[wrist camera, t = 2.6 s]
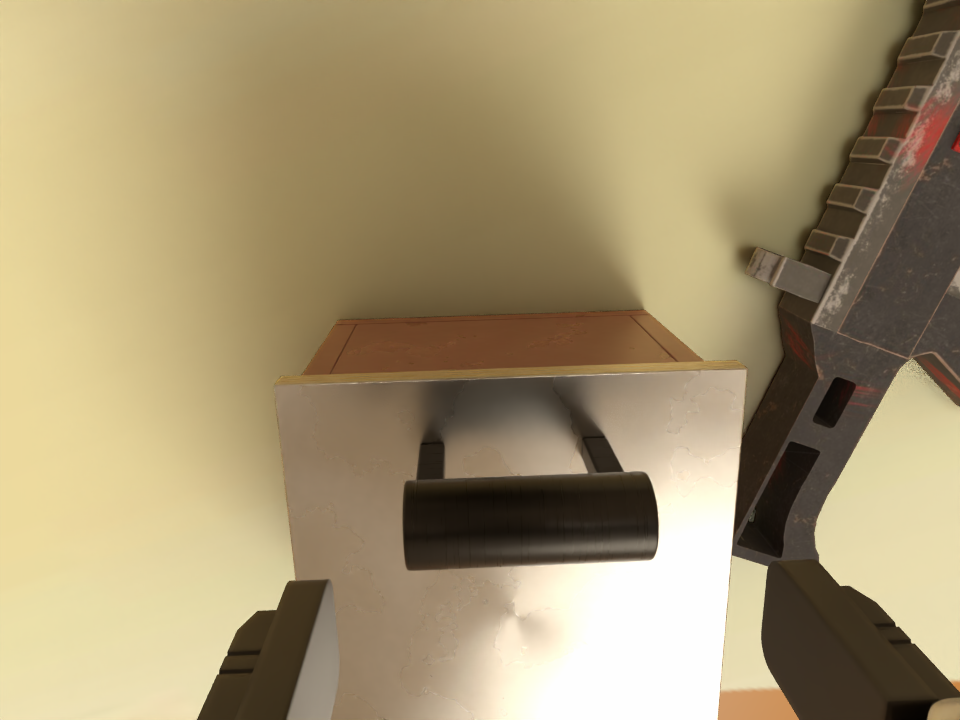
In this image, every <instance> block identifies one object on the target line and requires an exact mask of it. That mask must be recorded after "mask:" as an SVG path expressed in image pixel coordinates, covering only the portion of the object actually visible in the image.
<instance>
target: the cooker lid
mask: <svg viewBox="0 0 960 720" xmlns="http://www.w3.org/2000/svg"><path fill="white" fill-rule="evenodd" d="M747 371H748V369H747V367H745V366H744V365H743V364H741V363H740V362H739V361H737V360H726V361H697V362H669V363H640V364H612V365H583V366H554V367H526V368H497V369H469V370H440V371H412V372H383V373H354V374H326V375H297V376H280V377H279V379H278V380H277V381H276V383H275V384H274V394H275V402H276V411H277V420H278V429H279V438H280V446H281V455H282V464H283V473H284V481H285V490H286V499H287V508H288V517H289V525H290V534H291V543H292V552H293V560H294V569H295V578H296V581H299V580H322V579H330V580H331V583H332V587H333V595H334V605H335V615H336V625H337V635H338V646H339V680H338V688H337V693H336V697H335V702H334V706H333V711H332V716H331V720H718V710H719V698H720V687H721V675H722V663H723V652H724V640H725V628H726V617H727V605H728V593H729V582H730V570H731V558H732V547H733V535H734V523H735V511H736V500H737V488H738V476H739V465H740V453H741V441H742V430H743V418H744V406H745V395H746V383H747Z"/></svg>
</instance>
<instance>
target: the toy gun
mask: <svg viewBox="0 0 960 720" xmlns="http://www.w3.org/2000/svg"><path fill="white" fill-rule="evenodd" d="M897 60H898V66H897V68H896V70H895V72H894V74H893V76H892V78H891V80H890V82H889V84H888V86H887V88H884V89H882V91H881V93H880V95H879V97H878V99H877V101H876V103H875V105H874V107H873V117H872V119H871V121H870V123H869V125H868V127H867V129H866V131H865V133H864V135H863V136H860V137H858V139H857V141H856V143H855V145H854V147H853V149H852V151H851V153H850V155H849V157H850V163H849V165H848V167H847V169H846V171H845V173H844V175H843V177H842V179H841V181H840V183H836V184H835V186H834V188H833V190H832V192H831V194H830V196H829V198H828V200H827V205H828V206H827V209H826V211H825V213H824V215H823V217H822V219H821V221H820V223H819V225H818V227H817V229H813V230H812V232H811V234H810V236H809V238H808V240H807V242H806V244H805V246H804V248H805V250H806V251H805V253H804V255H803V257H802V259H801V261H800V262H799V261H796V260H794V259H790V258H787V257H785V256H781V255H778V254H775V253H773V252H770V251H768V250H765V249H762V248H760V247H757V248H756V250H755V252H754V254H753V256H752V258H751V260H750V262H749V264H748V266H747V269H746V271H745V274H748V275H750V276H752V277H755V278H757V279H760V280H762V281H765V282H767V283H769V285H771V286H774V287H776V288H779V289H782V290H784V291H786V292H785V294H784V296H783V298H782V300H781V302H780V304H779V305H778V311H779V316H780V321H781V331H782V342H783V347H784V350H785V354H786V356H785V358H784V360H783V362H782V364H781V366H780V368H779V370H778V372H777V374H776V376H775V378H774V380H773V382H772V384H771V386H770V388H769V390H768V392H767V394H766V395H765V397H764V399H763V401H762V403H761V405H760V407H759V409H758V411H757V413H756V415H755V417H754V419H753V421H752V423H751V425H750V427H749V429H748V431H747V433H746V435H745V437H744V439H743V441H742V443H741V453H740V465H739V476H738V488H737V500H736V511H735V523H734V535H733V547H732V555H733V556H737V557H740V558H743V559H746V560H749V561H753V562H756V563H759V564H762V565H766V566H769V565H770V563H771V562H772V561H782V560H805V559H814V560H816V561H818V562H819V555H818V552H817V550H816V548H815V536H814V532H815V526H816V521H817V518H818V515H819V513H820V511H821V509H822V506H823V504H824V502H825V500H826V498H827V496H828V494H829V492H830V491H831V489H832V488H833V486H834V485H835V483H836V481H837V479H838V478H839V476H840V474H841V472H842V470H843V469H844V467H845V465H846V463H847V461H848V460H849V458H850V456H851V454H852V452H853V451H854V449H855V447H856V445H857V443H858V442H859V440H860V438H861V436H862V434H863V433H864V431H865V429H866V427H867V425H868V424H869V422H870V420H871V418H872V416H873V415H874V413H875V411H876V409H877V407H878V406H879V404H880V402H881V400H882V398H883V397H884V395H885V393H886V391H887V389H888V388H889V386H890V384H891V382H892V380H893V379H894V377H895V376H896V374H897V372H898V371H899V369H900V368H901V367H902V366H903V365H904V364H905V363H906V362H908V361H909V360H910V359H911V358H914V359H915V360H916V361H917V362H918V363H919V364H920V366H921V367H922V368H923V369H924V370H925V371H926V372H927V373H928V374H929V375H930V376H931V378H932V379H933V380H934V381H935V382H936V383H937V384H938V385H939V386H940V387H941V388H942V390H943V391H944V392H945V393H946V394H947V395H948V396H949V397H950V398H951V399H952V400H953V401H954V403H955V404H956V405H958V406H960V0H926V2H925V4H924V6H923V16H922V18H921V20H920V22H919V24H918V26H917V28H916V30H915V32H914V34H913V36H912V37H909V38H908V39H907V40H906V42H905V45H904V47H903V49H902V51H901V53H900V55H899V57H898V59H897ZM755 506H756V516H755V522H754V523H749V522H748V520H749V518H750V516H751V514H752V512H753V510H754V508H755Z"/></svg>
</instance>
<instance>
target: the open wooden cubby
mask: <svg viewBox="0 0 960 720" xmlns="http://www.w3.org/2000/svg"><path fill="white" fill-rule="evenodd" d="M697 361H704V360H702V359H701V358H700V357H699V356H698V355H697V354H696V353H694V352H693V351H692V350H691V349H690V348H689V347H687V346H686V345H685V344H684V343H683V342H682V341H680V340H679V339H678V338H677V337H676V336H675V335H674V334H672V333H671V332H670V331H669V330H668V329H667V328H665V327H664V326H663V325H662V324H661V323H660V322H658V321H657V320H656V319H655V318H654V317H653V316H652V315H650V314H649V313H648V312H647V311H646V310H629V311H599V312H568V313H538V314H508V315H477V316H447V317H417V318H386V319H356V320H338V321H337V322H336V324H335V326H334V327H333V328H332V330H331V331H330V333H329V334H328V336H327V337H326V339H325V341H324V342H323V344H322V345H321V347H320V348H319V350H318V351H317V353H316V354H315V356H314V357H313V359H312V360H311V362H310V363H309V365H308V367H307V368H306V370H305V371H304V373H303V374H302V375H326V374H354V373H383V372H412V371H440V370H469V369H497V368H526V367H554V366H583V365H612V364H640V363H669V362H697Z"/></svg>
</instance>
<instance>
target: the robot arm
mask: <svg viewBox="0 0 960 720" xmlns="http://www.w3.org/2000/svg"><path fill="white" fill-rule="evenodd" d="M761 640H762V648H763V653H764V657H765V660H766V663H767V666H768V668H769V670H770V672H771V673H772V675H773V677H774V678H775V680H776V682H777V683H778V685H779V687H780V688H781V690H782V692H783V693H784V695H785V696H786V698H787V700H788V701H789V703H790V705H791V706H792V708H793V710H794V712H795V713H796V715H797V717H798V718H799V720H960V692H959V691H958V690H957V689H956V688H955V687H954V686H953V684H952V683H951V682H950V681H949V680H948V679H947V678H946V677H945V676H944V675H943V674H942V673H941V672H940V670H939V669H938V668H937V667H936V666H935V665H934V664H933V663H932V662H931V661H930V660H929V659H928V658H927V656H926V655H925V654H924V653H923V652H922V651H921V650H920V649H919V648H918V647H917V646H916V645H915V644H912V643H911V639H910V638H909V637H908V636H907V635H906V634H905V633H904V632H903V631H902V630H901V629H900V627H896V625H895V622H894V621H893V620H892V619H891V618H890V617H889V616H888V615H887V613H886V612H885V611H884V610H883V609H882V608H881V607H880V606H879V605H878V604H877V603H876V602H875V601H873V600H871V599H870V598H868V597H866V596H865V595H863V594H862V593H860V592H858V591H857V590H855V589H853V588H852V587H850V586H839V584H838V583H837V582H836V581H835V580H834V579H833V578H832V576H831V575H830V574H829V573H828V572H827V571H826V570H825V569H824V567H823V566H822V565H821V564H820V563H819V562H818V561H816V560H814V559H805V560H782V561H772V562H771V563H770V565H769V567H768V570H767V579H766V589H765V600H764V610H763V620H762V631H761ZM338 680H339V646H338V635H337V625H336V615H335V605H334V595H333V587H332V583H331V580H330V579H322V580H299V581H289V582H288V583H287V585H286V587H285V590H284V592H283V595H282V597H281V600H280V603H279V605H278V608H277V610H269V611H257V612H256V613H255V614H254V615H253V616H252V617H251V618H250V619H249V620H248V621H247V622H246V623H245V624H243V625H242V626H241V627H240V628H239V629H238V630H237V632H236V634H235V637H234V639H233V641H232V643H231V645H230V648H229V650H228V655H227V656H226V657H225V659H224V661H223V663H222V665H221V668H220V670H219V675H217V676H216V679H215V681H214V683H213V685H212V688H211V690H210V692H209V694H208V696H207V699H206V701H205V703H204V705H203V707H202V710H201V712H200V714H199V716H198V719H197V720H331V716H332V711H333V706H334V702H335V697H336V693H337V688H338Z"/></svg>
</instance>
